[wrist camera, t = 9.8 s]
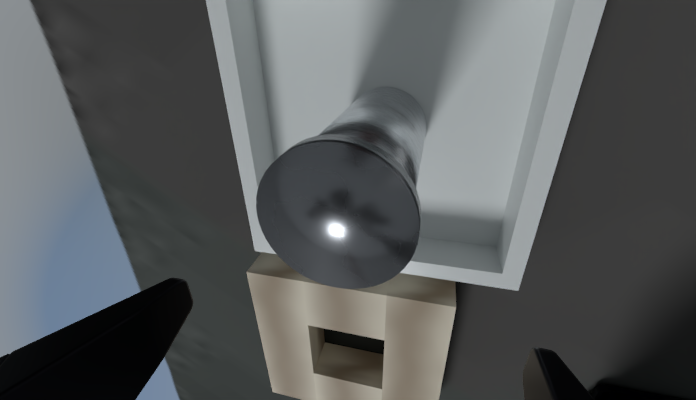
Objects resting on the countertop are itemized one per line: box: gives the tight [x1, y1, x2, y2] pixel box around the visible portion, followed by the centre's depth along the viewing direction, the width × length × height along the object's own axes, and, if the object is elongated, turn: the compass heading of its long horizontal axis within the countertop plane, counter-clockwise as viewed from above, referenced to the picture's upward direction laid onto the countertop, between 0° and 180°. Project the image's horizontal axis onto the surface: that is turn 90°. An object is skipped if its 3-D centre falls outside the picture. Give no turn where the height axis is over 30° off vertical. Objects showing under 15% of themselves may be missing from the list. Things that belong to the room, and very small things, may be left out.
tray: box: [206, 0, 607, 291], centre depth 17 cm, size 16×16×3 cm
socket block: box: [247, 252, 456, 400], centre depth 26 cm, size 14×14×3 cm
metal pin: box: [256, 86, 426, 289], centre depth 14 cm, size 5×5×10 cm
